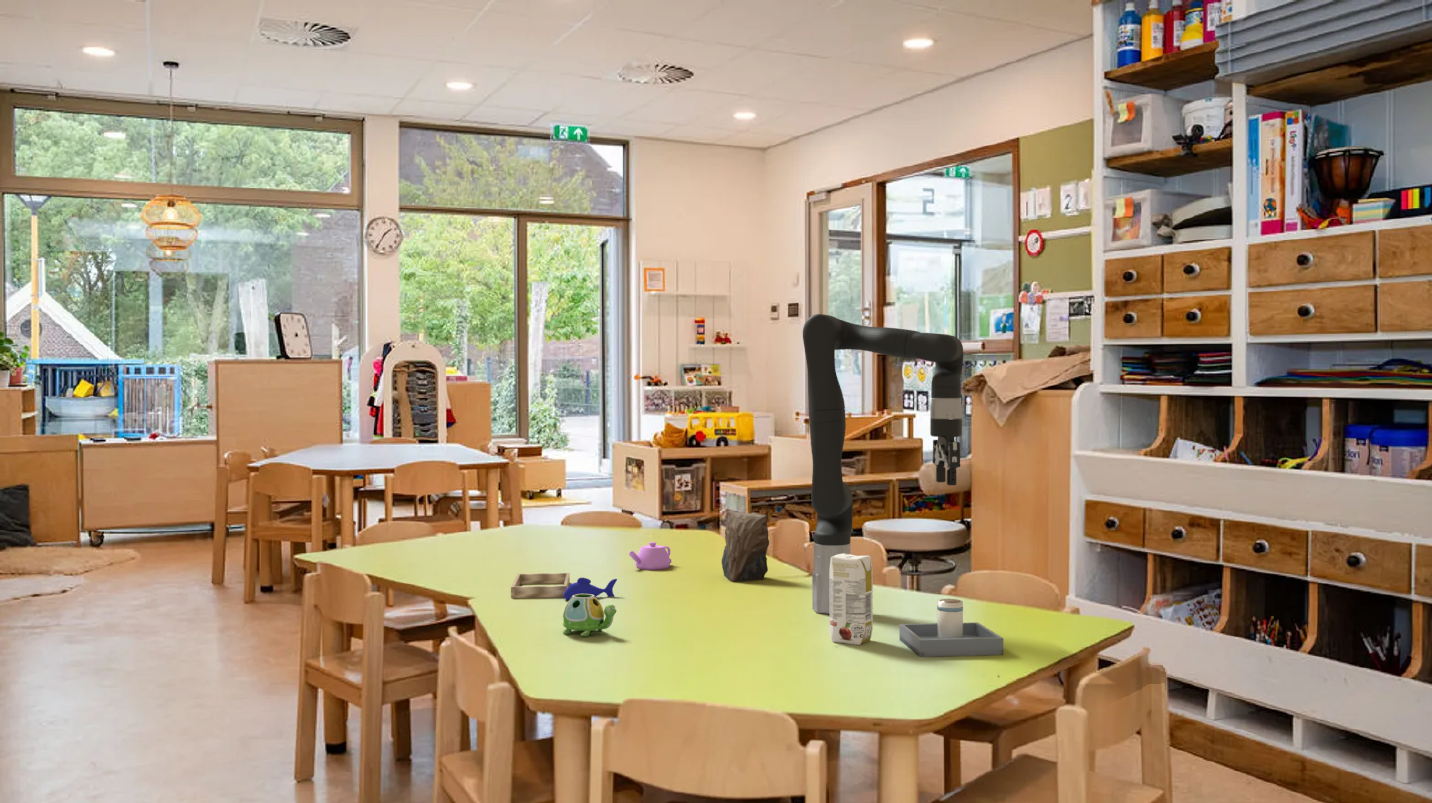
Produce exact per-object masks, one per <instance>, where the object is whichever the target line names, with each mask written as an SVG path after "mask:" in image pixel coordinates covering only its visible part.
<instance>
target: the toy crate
mask: <svg viewBox="0 0 1432 803" xmlns="http://www.w3.org/2000/svg"><path fill="white" fill-rule="evenodd" d="M530 584H533V585H532V586H531V585H530ZM534 584H535V585H534ZM537 584H563V585H537ZM570 584H571V583H570V572H556V573H555V572H549V573H548V572H546V573H517V575H516V576H515V578H514V581H513V583H512V584H511V586H510V598H511V599H513V598H514V599H517V598H520V599H521V598H522V599H523V598H524V599H526V598H535V599H536V598H564V592H565V591H566V589H567V588H568V587H569V586H570ZM521 585H525V586H521ZM527 585H529V586H527ZM536 585H537V586H536Z"/></svg>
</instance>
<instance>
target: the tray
mask: <svg viewBox="0 0 1432 803" xmlns="http://www.w3.org/2000/svg"><path fill="white" fill-rule="evenodd" d="M899 641H900V642H901V643H903V644H904V645H905V646H906V647H908V648H909V650H911V651H912V652H913V653H915V655H917V656H918V657H920V658H930V657H932V658H933V657H936V658H937V657H963V656H964V657H965V656H966V657H969V656H970V657H973V656H974V657H975V656H1000V655H1001V656H1003V655H1004V637H1003V636H1001V635H1000V634H997V633H996V632H994V631H993V630H991V629H989V628H988V627H986V626H985V625H982V624H981V623H979V622H977V621H975V622H974V621H973V622H963V638H953V639H937V623H935V622H933V623H899Z"/></svg>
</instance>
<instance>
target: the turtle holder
mask: <svg viewBox="0 0 1432 803" xmlns="http://www.w3.org/2000/svg"><path fill="white" fill-rule="evenodd" d="M596 597H597V596H596ZM596 597H595V596H594V595H592V594H576V595H573V596H572V598H571V599H570V600H567V601H568V602H566V604H565V607H564V609H563V613H562V617H563V618H562V620H563V623H562V625H563V627H564V628H565V629H564V630H563V631H562V634H565V635H566V634H567V635H569V634H571V632H572V631H582V632H581V633H580V634H579V635H580V636H581V637H589V635H590V633H591V631H595V630H596V631H599V632H600V631H603V630H606V629H607V630H608V628H610V627H611V625H612V624H613V621H614V616H615V614H616V613H617V609H616V606H615V605H614V604H608V605H605V606H604V609H603V606H602V603H601V602H600V600H599V599H598V598H596Z"/></svg>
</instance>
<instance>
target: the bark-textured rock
mask: <svg viewBox="0 0 1432 803" xmlns="http://www.w3.org/2000/svg"><path fill="white" fill-rule="evenodd" d="M728 517H729V518H728V521H727V525H726V526H725V530H724V541H725V546H724V550H723V553H722V557H721V566H722V567H721V568H722V572H723V576H724V577H725V578H726V579H727V581H729V582H730V583H738V582H741V583H742V582H753V581H762V580H764V578H765V575H766V574H767V573H768V571H769V568H768V558H767V552H768V548H769V545H770V539H769V529H768V528H769V527H768V518H769V516H768V514H762V513H759V512H751V513H747V512H746V513H745V512H743V513H742V512H738V511H729V512H728Z"/></svg>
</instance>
